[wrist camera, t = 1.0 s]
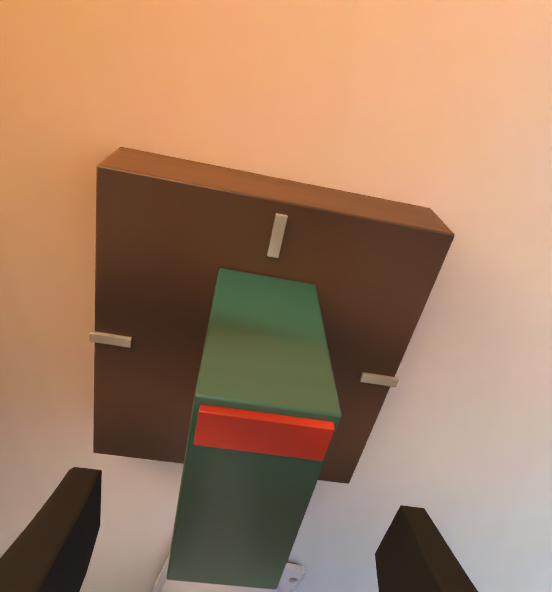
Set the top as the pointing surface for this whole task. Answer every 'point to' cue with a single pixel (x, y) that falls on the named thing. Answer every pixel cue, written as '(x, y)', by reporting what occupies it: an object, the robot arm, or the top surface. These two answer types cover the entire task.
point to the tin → (254, 432)
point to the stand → (252, 259)
